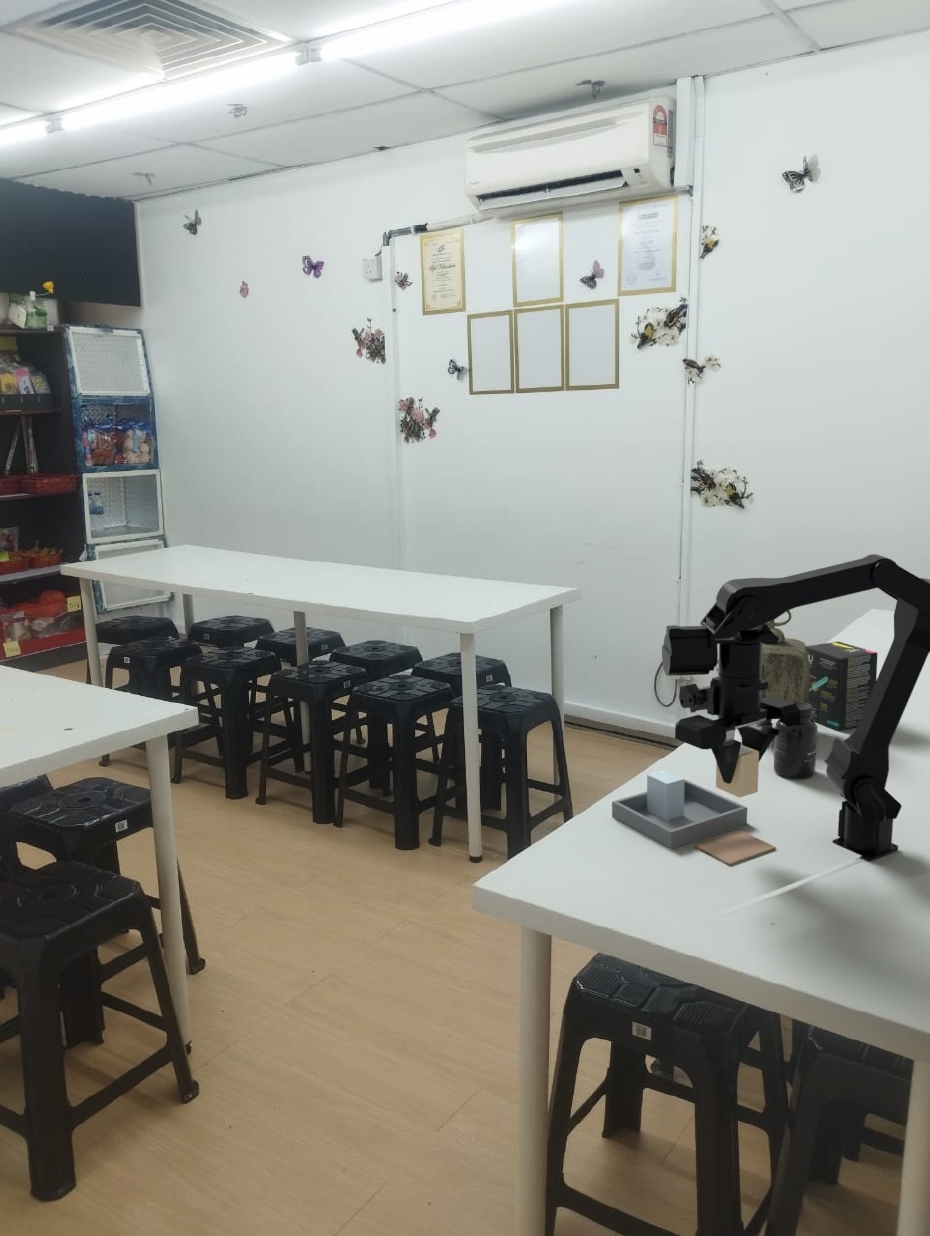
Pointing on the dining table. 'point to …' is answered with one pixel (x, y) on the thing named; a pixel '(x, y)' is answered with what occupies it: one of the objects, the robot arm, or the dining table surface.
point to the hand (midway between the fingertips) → (737, 779)
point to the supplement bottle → (796, 746)
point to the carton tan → (742, 774)
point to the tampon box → (840, 683)
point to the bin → (699, 819)
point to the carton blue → (665, 795)
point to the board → (734, 847)
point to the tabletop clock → (785, 667)
